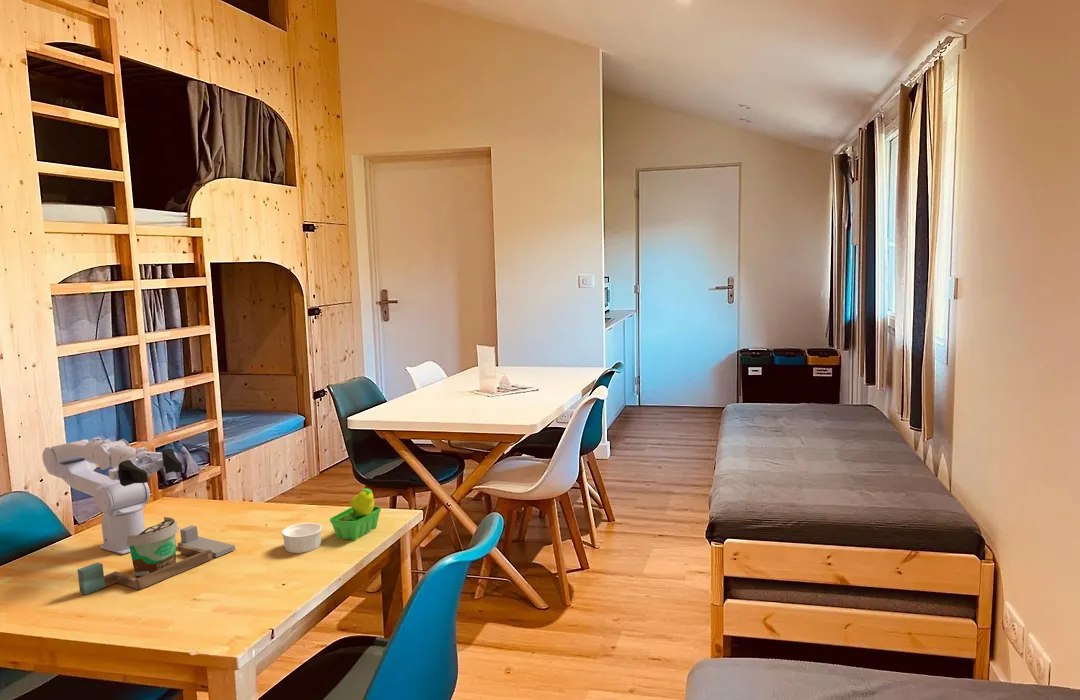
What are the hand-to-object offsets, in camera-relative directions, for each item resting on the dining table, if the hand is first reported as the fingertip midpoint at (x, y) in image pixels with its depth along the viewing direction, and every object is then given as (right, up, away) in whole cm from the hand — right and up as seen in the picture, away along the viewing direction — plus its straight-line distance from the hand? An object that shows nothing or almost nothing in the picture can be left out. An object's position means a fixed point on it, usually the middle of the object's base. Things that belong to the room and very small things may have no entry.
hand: (163, 472), depth 164 cm
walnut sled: (-1, -21, -3) cm, 22 cm away
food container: (0, -21, -1) cm, 21 cm away
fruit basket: (+39, -18, +17) cm, 46 cm away
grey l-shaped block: (+5, -20, +11) cm, 23 cm away
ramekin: (+27, -19, +10) cm, 35 cm away
